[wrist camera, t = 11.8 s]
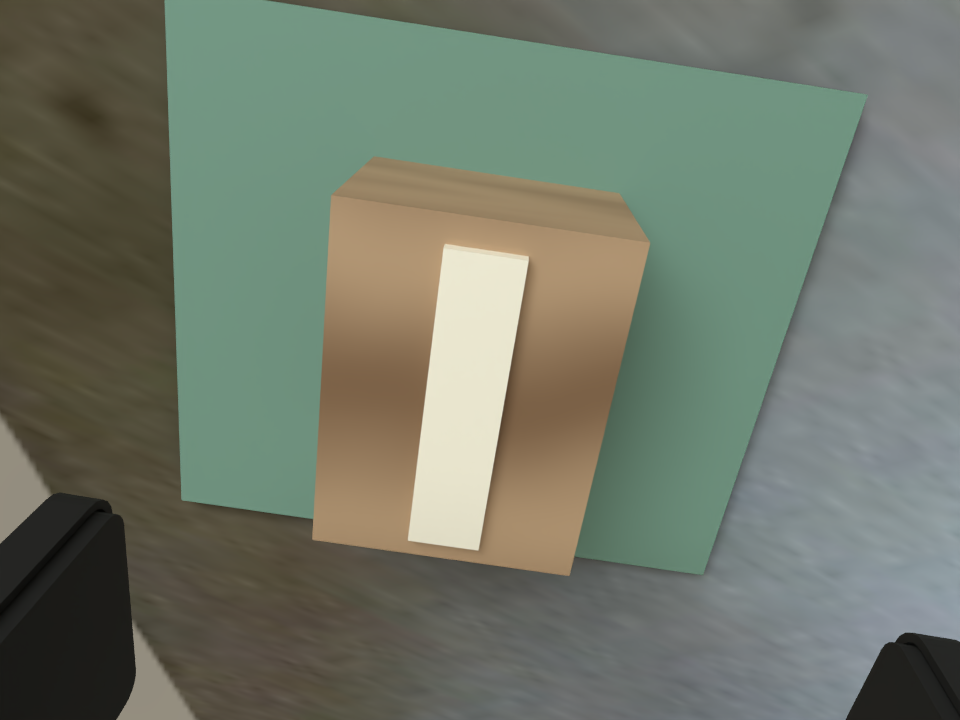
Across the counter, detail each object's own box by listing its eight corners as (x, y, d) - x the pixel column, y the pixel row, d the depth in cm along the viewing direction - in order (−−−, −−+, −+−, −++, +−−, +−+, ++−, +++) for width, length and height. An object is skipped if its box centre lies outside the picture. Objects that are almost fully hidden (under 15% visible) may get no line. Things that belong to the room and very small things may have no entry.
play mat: (860, 93, 17) (868, 94, 17) (700, 566, 23) (702, 575, 22) (171, -15, 17) (164, -16, 16) (186, 492, 22) (181, 500, 22)
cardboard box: (558, 469, 21) (570, 585, 17) (352, 439, 21) (308, 547, 17) (619, 193, 18) (653, 246, 13) (373, 156, 18) (327, 198, 13)
